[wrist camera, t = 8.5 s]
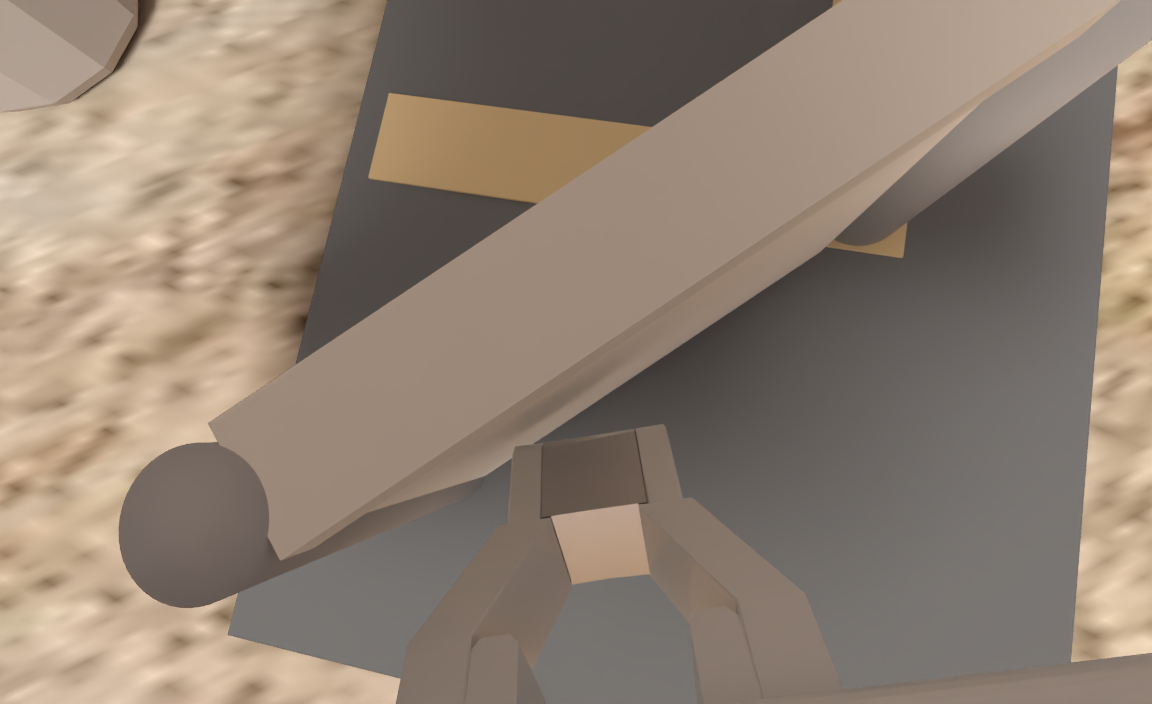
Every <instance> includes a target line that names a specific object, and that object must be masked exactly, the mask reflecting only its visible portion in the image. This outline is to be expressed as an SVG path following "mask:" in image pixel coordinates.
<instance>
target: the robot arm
mask: <svg viewBox="0 0 1152 704" xmlns="http://www.w3.org/2000/svg"><path fill="white" fill-rule="evenodd" d="M645 574H650V576H651V578H652V579H653V580H654V581H655V583H656V584H657V585H658V586H659V587H660V589H661V590H662V591H663V592H664V594H665V595H666V596H667V597H668V598H669V600H670V601H671V602H672V603H673V604H674V606H675V607H676V608H677V609H678V611H679V612H680V613H681V614H682V615H683V617H684V618H685V619H686V620H687V622H688V623H689V630H690V639H691V649H692V659H693V668H694V678H695V688H696V697H697V703H698V704H1152V653H1148V654H1140V655H1131V656H1123V657H1114V658H1106V659H1097V660H1089V661H1081V662H1072V663H1064V664H1055V665H1047V666H1038V667H1030V668H1022V669H1013V670H1005V671H996V672H988V673H979V674H971V675H962V676H954V677H945V678H937V679H928V680H920V681H911V682H903V683H894V684H886V685H877V686H869V687H860V688H852V689H843V688H842V685H841V683H840V680H839V678H838V675H837V672H836V670H835V667H834V665H833V662H832V660H831V657H830V655H829V652H828V650H827V647H826V645H825V642H824V639H823V637H822V634H821V632H820V629H819V627H818V624H817V622H816V619H815V617H814V614H813V611H812V609H811V606H810V604H809V601H808V599H807V596H806V594H805V593H804V592H803V591H802V590H800V589H799V588H798V587H797V586H796V585H795V584H793V583H792V582H791V581H790V580H789V579H788V578H786V577H785V576H784V575H783V574H782V573H780V572H779V571H778V570H777V569H776V568H775V567H773V566H772V565H771V564H770V563H769V562H768V561H766V560H765V559H764V558H763V557H762V556H761V555H759V554H758V553H757V552H756V551H755V550H753V549H752V548H751V547H750V546H749V545H748V544H746V543H745V542H744V541H743V540H742V539H741V538H739V537H738V536H737V535H736V534H735V533H733V532H732V531H731V530H730V529H729V528H728V527H726V526H725V525H724V524H723V523H722V522H721V521H719V520H718V519H717V518H716V517H715V516H713V515H712V514H711V513H710V512H709V511H708V510H706V509H705V508H704V507H703V506H702V505H701V504H699V503H698V502H697V501H696V500H695V499H694V498H692V497H690V498H683V496H682V492H681V488H680V484H679V479H678V475H677V471H676V467H675V463H674V459H673V455H672V451H671V446H670V442H669V438H668V434H667V430H666V427H665V426H664V425H663V424H659V425H653V426H647V427H641V428H635V430H634V429H630V430H624V431H618V432H611V433H605V434H599V435H593V436H587V437H581V438H573V439H565V440H557V441H550V442H544V443H539V444H531V445H523V446H515V448H514V451H513V453H512V465H511V479H510V492H509V506H508V520H507V524H502V525H498V527H497V528H496V529H495V531H494V532H493V533H492V535H491V536H490V537H489V539H488V540H487V541H486V542H485V544H484V545H483V546H482V548H481V549H480V550H479V552H478V553H477V554H476V556H475V557H474V558H473V560H472V561H471V562H470V564H469V565H468V566H467V567H466V569H465V570H464V571H463V573H462V574H461V575H460V577H459V578H458V579H457V581H456V582H455V583H454V585H453V586H452V587H451V589H450V590H449V591H448V592H447V594H446V595H445V596H444V598H443V599H442V600H441V602H440V603H439V604H438V606H437V607H436V608H435V610H434V611H433V612H432V614H431V615H430V616H429V617H428V619H427V620H426V621H425V623H424V624H423V625H422V627H421V628H420V629H419V631H418V632H417V633H416V635H415V636H414V637H413V638H412V640H411V641H410V642H409V644H408V647H407V651H406V656H405V661H404V666H403V671H402V676H401V681H400V686H399V691H398V696H397V700H396V704H547V703H546V700H545V698H544V696H543V694H542V692H541V690H540V688H539V685H538V683H537V681H536V679H535V677H534V675H533V672H532V668H533V666H534V664H535V662H536V660H537V658H538V656H539V654H540V652H541V650H542V648H543V646H544V644H545V642H546V640H547V638H548V636H549V634H550V632H551V630H552V628H553V626H554V624H555V622H556V620H557V618H558V616H559V614H560V612H561V610H562V608H563V606H564V604H565V602H566V600H567V598H568V596H569V594H570V592H571V590H572V584H578V583H585V582H591V581H597V580H603V579H609V578H618V577H627V576H636V575H645Z"/></svg>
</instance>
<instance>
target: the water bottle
mask: <svg viewBox="0 0 1152 704" xmlns="http://www.w3.org/2000/svg"><path fill="white" fill-rule="evenodd" d="M137 27H138V0H0V112H14V111H24V110H30V109H37V108H43V107H49V106H55V105H61V104H67V103H70V102H71V101H73V100H74V99H75V98H77V97H78V96H80V95H81V94H82V93H84V92H85V91H87V90H88V89H89V88H91V87H92V86H94V85H95V84H96V83H98V82H99V81H101V80H102V79H103V78H105V77H106V76H107V75H109V74H110V73H112V72H113V70H114V68H115V66H116V64H117V63H118V61H119V59H120V57H121V55H122V54H123V52H124V50H125V48H126V47H127V45H128V43H129V41H130V39H131V38H132V36H133V34H134V32H135V31H136V29H137Z"/></svg>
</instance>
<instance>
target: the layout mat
mask: <svg viewBox="0 0 1152 704" xmlns="http://www.w3.org/2000/svg"><path fill="white" fill-rule="evenodd" d="M841 1H842V0H387V4H386V8H385V12H384V16H383V20H382V24H381V28H380V32H379V36H378V40H377V44H376V48H375V52H374V56H373V60H372V64H371V68H370V72H369V76H368V80H367V84H366V88H365V92H364V96H363V100H362V104H361V107H360V111H359V115H358V119H357V123H356V127H355V131H354V135H353V139H352V143H351V147H350V151H349V155H348V159H347V163H346V167H345V171H344V175H343V179H342V183H341V187H340V191H339V195H338V199H337V203H336V207H335V211H334V215H333V219H332V223H331V226H330V230H329V234H328V238H327V242H326V246H325V250H324V254H323V258H322V262H321V266H320V270H319V274H318V278H317V282H316V286H315V290H314V294H313V298H312V302H311V306H310V310H309V314H308V318H307V322H306V326H305V330H304V334H303V338H302V341H301V345H300V349H299V353H298V357H297V361H296V364H297V363H299V362H300V361H302V360H304V359H305V358H307V357H308V356H310V355H311V354H313V353H314V352H316V351H317V350H319V349H320V348H322V347H323V346H325V345H326V344H328V343H329V342H331V341H332V340H334V339H335V338H337V337H338V336H340V335H341V334H343V333H344V332H346V331H347V330H349V329H350V328H352V327H353V326H355V325H356V324H358V323H359V322H361V321H362V320H364V319H365V318H367V317H368V316H370V315H371V314H373V313H374V312H376V311H377V310H379V309H380V308H382V307H383V306H385V305H386V304H388V303H389V302H391V301H392V300H394V299H395V298H397V297H398V296H400V295H401V294H403V293H404V292H406V291H407V290H409V289H410V288H412V287H413V286H415V285H416V284H418V283H419V282H421V281H422V280H424V279H425V278H427V277H428V276H430V275H431V274H433V273H434V272H436V271H437V270H439V269H440V268H442V267H443V266H445V265H446V264H448V263H449V262H451V261H452V260H454V259H455V258H457V257H458V256H460V255H461V254H463V253H464V252H466V251H467V250H469V249H470V248H472V247H473V246H475V245H476V244H478V243H479V242H481V241H482V240H484V239H485V238H487V237H488V236H490V235H491V234H493V233H494V232H496V231H497V230H499V229H500V228H502V227H503V226H505V225H506V224H508V223H509V222H511V221H512V220H514V219H515V218H517V217H518V216H520V215H521V214H523V213H524V212H526V211H527V210H529V209H530V208H532V207H533V206H535V205H536V204H538V203H539V202H541V201H542V200H544V199H545V198H547V197H548V196H550V195H551V194H553V193H554V192H556V191H557V190H559V189H560V188H562V187H563V186H565V185H566V184H568V183H569V182H571V181H572V180H574V179H575V178H577V177H578V176H580V175H581V174H583V173H584V172H586V171H587V170H589V169H590V168H592V167H593V166H595V165H596V164H598V163H599V162H601V161H602V160H604V159H605V158H607V157H608V156H610V155H611V154H613V153H614V152H616V151H617V150H619V149H620V148H622V147H623V146H625V145H626V144H628V143H629V142H631V141H632V140H634V139H635V138H637V137H638V136H640V135H641V134H643V133H644V132H646V131H647V130H649V129H650V128H652V127H653V126H655V125H656V124H658V123H659V122H661V121H662V120H664V119H665V118H667V117H668V116H670V115H671V114H673V113H674V112H676V111H677V110H679V109H680V108H682V107H683V106H685V105H686V104H688V103H689V102H691V101H692V100H694V99H695V98H697V97H698V96H700V95H701V94H703V93H704V92H706V91H707V90H709V89H710V88H712V87H713V86H715V85H716V84H718V83H719V82H721V81H722V80H724V79H725V78H727V77H728V76H730V75H731V74H733V73H734V72H736V71H737V70H739V69H740V68H742V67H743V66H745V65H746V64H748V63H749V62H751V61H752V60H754V59H755V58H757V57H758V56H760V55H761V54H763V53H764V52H766V51H767V50H769V49H770V48H772V47H773V46H775V45H776V44H778V43H779V42H781V41H782V40H784V39H785V38H787V37H788V36H790V35H791V34H793V33H794V32H796V31H797V30H799V29H800V28H802V27H803V26H805V25H806V24H808V23H809V22H811V21H812V20H814V19H815V18H817V17H818V16H820V15H821V14H823V13H824V12H826V11H827V10H829V9H830V8H832V7H833V6H835V5H836V4H838V3H839V2H841ZM1117 67H1118V65H1117V66H1116V67H1115V68H1113V69H1112V70H1111V71H1109V72H1108V73H1107V74H1105V75H1104V76H1103V77H1101V78H1100V79H1099V80H1097V81H1096V82H1095V83H1093V84H1092V85H1091V86H1089V87H1088V88H1086V89H1085V90H1084V91H1082V92H1081V93H1080V94H1078V95H1077V96H1076V97H1074V98H1073V99H1072V100H1070V101H1069V102H1068V103H1066V104H1065V105H1064V106H1062V107H1061V108H1060V109H1058V110H1057V111H1056V112H1054V113H1053V114H1052V115H1050V116H1049V117H1048V118H1046V119H1045V120H1044V121H1042V122H1041V123H1040V124H1038V125H1037V126H1036V127H1034V128H1033V129H1032V130H1030V131H1029V132H1028V133H1026V134H1025V135H1024V136H1022V137H1021V138H1019V139H1018V140H1017V141H1015V142H1014V143H1013V144H1011V145H1010V146H1009V147H1007V148H1006V149H1005V150H1003V151H1002V152H1001V153H999V154H998V155H997V156H995V157H994V158H993V159H991V160H990V161H989V162H987V163H986V164H985V165H983V166H982V167H981V168H979V169H978V170H977V171H975V172H974V173H973V174H971V175H970V176H969V177H967V178H966V179H965V180H963V181H962V182H961V183H959V184H958V185H957V186H955V187H954V188H952V189H951V190H950V191H948V192H947V193H946V194H944V195H943V196H942V197H940V198H939V199H938V200H936V201H935V202H934V203H932V204H931V205H930V206H928V207H927V208H926V209H924V210H923V211H922V212H920V213H919V214H918V215H916V216H915V217H914V218H912V219H911V220H910V221H908V222H907V223H906V224H904V225H903V226H902V227H900V228H899V229H898V230H896V231H895V232H894V233H892V234H891V235H889V236H888V237H887V238H885V239H883V240H882V241H880V242H877V243H874V244H871V245H865V246H851V245H846V244H843V243H840V242H837V241H835V240H833V241H832V242H830V243H829V244H828V245H827V246H826V247H825V248H824V249H823V250H822V251H821V252H820V253H818V254H817V255H815V256H814V257H812V258H811V259H809V260H808V261H806V262H805V263H803V264H802V265H800V266H799V267H797V268H796V269H794V270H793V271H791V272H790V273H788V274H787V275H785V276H784V277H782V278H781V279H779V280H778V281H776V282H775V283H773V284H772V285H770V286H769V287H767V288H766V289H764V290H763V291H761V292H760V293H758V294H757V295H755V296H754V297H752V298H751V299H749V300H748V301H746V302H745V303H743V304H742V305H740V306H739V307H737V308H736V309H734V310H733V311H731V312H730V313H728V314H727V315H725V316H724V317H722V318H721V319H719V320H718V321H716V322H715V323H713V324H712V325H710V326H709V327H707V328H706V329H704V330H703V331H701V332H700V333H698V334H697V335H695V336H694V337H692V338H691V339H689V340H688V341H686V342H685V343H683V344H682V345H680V346H679V347H677V348H676V349H674V350H673V351H671V352H670V353H668V354H667V355H665V356H664V357H662V358H661V359H659V360H658V361H656V362H655V363H653V364H652V365H650V366H649V367H647V368H646V369H644V370H643V371H641V372H640V373H639V374H637V375H636V376H634V377H633V378H631V379H630V380H628V381H627V382H625V383H624V384H622V385H621V386H619V387H618V388H616V389H615V390H613V391H612V392H610V393H609V394H607V395H606V396H604V397H603V398H601V399H600V400H598V401H597V402H595V403H594V404H592V405H591V406H589V407H588V408H586V409H585V410H583V411H582V412H580V413H579V414H577V415H576V416H574V417H573V418H571V419H570V420H568V421H567V422H565V423H564V424H562V425H561V426H559V427H558V428H556V429H555V430H553V431H552V432H550V433H549V434H547V435H546V436H544V437H543V438H541V439H540V440H538V441H537V442H535V443H534V444H539V443H544V442H550V441H557V440H565V439H573V438H581V437H587V436H593V435H599V434H605V433H611V432H618V431H624V430H630V429H634V430H635V428H641V427H647V426H653V425H659V424H663V425H664V426H665V427H666V430H667V434H668V438H669V442H670V446H671V451H672V455H673V459H674V463H675V467H676V471H677V475H678V479H679V484H680V488H681V492H682V496H683V498H690V497H692V498H694V499H695V500H696V501H697V502H698V503H699V504H701V505H702V506H703V507H704V508H705V509H706V510H708V511H709V512H710V513H711V514H712V515H713V516H715V517H716V518H717V519H718V520H719V521H721V522H722V523H723V524H724V525H725V526H726V527H728V528H729V529H730V530H731V531H732V532H733V533H735V534H736V535H737V536H738V537H739V538H741V539H742V540H743V541H744V542H745V543H746V544H748V545H749V546H750V547H751V548H752V549H753V550H755V551H756V552H757V553H758V554H759V555H761V556H762V557H763V558H764V559H765V560H766V561H768V562H769V563H770V564H771V565H772V566H773V567H775V568H776V569H777V570H778V571H779V572H780V573H782V574H783V575H784V576H785V577H786V578H788V579H789V580H790V581H791V582H792V583H793V584H795V585H796V586H797V587H798V588H799V589H800V590H802V591H803V592H804V593H805V594H806V596H807V599H808V601H809V604H810V606H811V609H812V611H813V614H814V617H815V619H816V622H817V624H818V627H819V629H820V632H821V634H822V637H823V639H824V642H825V645H826V647H827V650H828V652H829V655H830V657H831V660H832V662H833V665H834V667H835V670H836V672H837V675H838V678H839V680H840V683H841V685H842V688H843V689H852V688H860V687H869V686H877V685H886V684H894V683H903V682H911V681H920V680H928V679H937V678H945V677H954V676H962V675H971V674H979V673H988V672H996V671H1005V670H1013V669H1022V668H1030V667H1038V666H1047V665H1055V664H1064V663H1071V653H1072V640H1073V627H1074V615H1075V602H1076V589H1077V576H1078V564H1079V551H1080V538H1081V525H1082V513H1083V500H1084V487H1085V475H1086V462H1087V449H1088V436H1089V424H1090V411H1091V398H1092V385H1093V373H1094V360H1095V347H1096V334H1097V322H1098V309H1099V296H1100V284H1101V271H1102V258H1103V245H1104V233H1105V220H1106V207H1107V194H1108V182H1109V169H1110V156H1111V143H1112V131H1113V118H1114V105H1115V93H1116V80H1117ZM511 465H512V458H511V459H510V460H508V461H507V462H505V463H504V464H502V465H501V466H499V467H498V468H496V469H495V470H493V471H492V472H490V473H489V474H487V475H486V476H485V479H484V481H483V483H482V485H481V487H480V488H479V489H478V490H477V491H476V492H475V493H474V494H473V495H471V496H470V497H468V498H465V499H463V500H461V501H458V502H456V503H453V504H451V505H448V506H446V507H444V508H441V509H439V510H436V511H434V512H432V513H429V514H427V515H424V516H422V517H419V518H417V519H415V520H412V521H410V522H407V523H405V524H403V525H400V526H398V527H395V528H393V529H391V530H388V531H386V532H383V533H381V534H378V535H376V536H374V537H371V538H369V539H366V540H364V541H362V542H359V543H357V544H354V545H352V546H349V547H347V548H345V549H342V550H340V551H337V552H335V553H333V554H330V555H328V556H325V557H323V558H321V559H318V560H316V561H313V562H311V563H308V564H306V565H304V566H301V567H299V568H296V569H294V570H292V571H289V572H287V573H284V574H282V575H280V576H277V577H275V578H272V579H270V580H267V581H265V582H263V583H260V584H258V585H255V586H253V587H251V588H248V589H246V590H243V591H241V592H238V595H237V599H236V603H235V607H234V611H233V615H232V619H231V623H230V627H229V631H228V635H230V636H234V637H238V638H242V639H246V640H250V641H254V642H258V643H262V644H266V645H270V646H274V647H277V648H281V649H285V650H289V651H293V652H297V653H301V654H305V655H309V656H313V657H317V658H321V659H325V660H329V661H333V662H337V663H341V664H345V665H349V666H353V667H357V668H361V669H365V670H369V671H373V672H377V673H380V674H384V675H388V676H392V677H396V678H400V679H401V676H402V671H403V666H404V661H405V656H406V651H407V647H408V644H409V642H410V641H411V640H412V638H413V637H414V636H415V635H416V633H417V632H418V631H419V629H420V628H421V627H422V625H423V624H424V623H425V621H426V620H427V619H428V617H429V616H430V615H431V614H432V612H433V611H434V610H435V608H436V607H437V606H438V604H439V603H440V602H441V600H442V599H443V598H444V596H445V595H446V594H447V592H448V591H449V590H450V589H451V587H452V586H453V585H454V583H455V582H456V581H457V579H458V578H459V577H460V575H461V574H462V573H463V571H464V570H465V569H466V567H467V566H468V565H469V564H470V562H471V561H472V560H473V558H474V557H475V556H476V554H477V553H478V552H479V550H480V549H481V548H482V546H483V545H484V544H485V542H486V541H487V540H488V539H489V537H490V536H491V535H492V533H493V532H494V531H495V529H496V528H497V527H498V525H502V524H507V520H508V506H509V492H510V479H511ZM532 672H533V675H534V677H535V679H536V681H537V683H538V685H539V688H540V690H541V692H542V694H543V696H544V698H545V700H546V703H547V704H698V703H697V697H696V688H695V678H694V668H693V659H692V649H691V639H690V630H689V623H688V622H687V620H686V619H685V618H684V617H683V615H682V614H681V613H680V612H679V611H678V609H677V608H676V607H675V606H674V604H673V603H672V602H671V601H670V600H669V598H668V597H667V596H666V595H665V594H664V592H663V591H662V590H661V589H660V587H659V586H658V585H657V584H656V583H655V581H654V580H653V579H652V578H651V576H650V574H645V575H636V576H627V577H618V578H609V579H603V580H597V581H591V582H585V583H578V584H572V590H571V592H570V594H569V596H568V598H567V600H566V602H565V604H564V606H563V608H562V610H561V612H560V614H559V616H558V618H557V620H556V622H555V624H554V626H553V628H552V630H551V632H550V634H549V636H548V638H547V640H546V642H545V644H544V646H543V648H542V650H541V652H540V654H539V656H538V658H537V660H536V662H535V664H534V666H533V668H532Z"/></svg>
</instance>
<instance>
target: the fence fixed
mask: <svg viewBox="0 0 1152 704" xmlns="http://www.w3.org/2000/svg"><path fill="white" fill-rule="evenodd" d="M1151 40H1152V0H1121V1H1120V2H1118V3H1117V4H1116V5H1115V6H1114V7H1113V8H1112V9H1110V10H1109V11H1108V12H1107V13H1106V14H1105V15H1104V16H1102V17H1101V18H1100V19H1099V20H1098V21H1097V22H1096V23H1094V24H1093V25H1092V26H1091V27H1090V28H1089V29H1088V30H1086V31H1085V32H1084V33H1083V34H1082V35H1081V36H1080V37H1078V38H1077V39H1075V40H1074V41H1072V42H1071V43H1069V44H1068V45H1066V46H1065V47H1063V48H1062V49H1060V50H1059V51H1057V52H1056V53H1054V54H1053V55H1051V56H1050V57H1048V58H1047V59H1045V60H1044V61H1042V62H1041V63H1039V64H1038V65H1036V66H1035V67H1033V68H1032V69H1030V70H1029V71H1027V72H1026V73H1024V74H1023V75H1021V76H1020V77H1018V78H1017V79H1015V80H1014V81H1012V82H1011V83H1009V84H1008V85H1006V86H1005V87H1003V88H1002V89H1000V90H999V91H997V92H996V93H994V94H993V95H991V96H990V97H988V98H987V99H985V100H984V101H982V102H981V103H980V104H979V105H978V106H977V107H976V108H975V109H974V110H973V111H972V112H971V113H969V114H968V115H967V116H966V117H965V118H964V119H963V120H962V121H961V122H960V123H959V124H958V125H957V126H955V127H954V128H953V129H952V130H951V131H950V132H949V133H948V134H947V135H946V136H945V137H944V138H943V139H941V140H940V141H939V142H938V143H937V144H936V145H935V146H934V147H933V148H932V149H931V150H930V151H929V152H927V153H926V154H925V155H924V156H923V157H922V158H921V159H920V160H919V161H918V162H917V163H916V164H915V165H913V166H912V167H911V168H910V169H909V170H908V171H907V172H906V173H905V174H904V175H903V176H902V177H901V178H899V179H898V180H897V181H896V182H895V183H894V184H893V185H892V186H891V187H890V188H889V189H888V190H886V191H885V192H884V193H883V194H882V195H881V196H880V197H879V198H878V199H877V200H876V201H875V202H874V203H872V204H871V205H870V206H869V207H868V208H867V209H866V210H865V211H864V212H863V213H862V214H861V215H860V216H858V217H857V218H856V219H855V220H854V221H853V222H852V223H851V224H850V225H849V226H848V227H847V228H846V229H844V230H843V231H842V232H841V233H840V234H839V235H838V236H837V237H836V238H835V239H834V240H835V241H837V242H840V243H843V244H846V245H851V246H865V245H871V244H874V243H877V242H880V241H882V240H883V239H885V238H887V237H888V236H889V235H891V234H892V233H894V232H895V231H896V230H898V229H899V228H900V227H902V226H903V225H904V224H906V223H907V222H908V221H910V220H911V219H912V218H914V217H915V216H916V215H918V214H919V213H920V212H922V211H923V210H924V209H926V208H927V207H928V206H930V205H931V204H932V203H934V202H935V201H936V200H938V199H939V198H940V197H942V196H943V195H944V194H946V193H947V192H948V191H950V190H951V189H952V188H954V187H955V186H957V185H958V184H959V183H961V182H962V181H963V180H965V179H966V178H967V177H969V176H970V175H971V174H973V173H974V172H975V171H977V170H978V169H979V168H981V167H982V166H983V165H985V164H986V163H987V162H989V161H990V160H991V159H993V158H994V157H995V156H997V155H998V154H999V153H1001V152H1002V151H1003V150H1005V149H1006V148H1007V147H1009V146H1010V145H1011V144H1013V143H1014V142H1015V141H1017V140H1018V139H1019V138H1021V137H1022V136H1024V135H1025V134H1026V133H1028V132H1029V131H1030V130H1032V129H1033V128H1034V127H1036V126H1037V125H1038V124H1040V123H1041V122H1042V121H1044V120H1045V119H1046V118H1048V117H1049V116H1050V115H1052V114H1053V113H1054V112H1056V111H1057V110H1058V109H1060V108H1061V107H1062V106H1064V105H1065V104H1066V103H1068V102H1069V101H1070V100H1072V99H1073V98H1074V97H1076V96H1077V95H1078V94H1080V93H1081V92H1082V91H1084V90H1085V89H1086V88H1088V87H1089V86H1091V85H1092V84H1093V83H1095V82H1096V81H1097V80H1099V79H1100V78H1101V77H1103V76H1104V75H1105V74H1107V73H1108V72H1109V71H1111V70H1112V69H1113V68H1115V67H1116V66H1117V65H1119V64H1120V63H1121V62H1123V61H1124V60H1125V59H1127V58H1128V57H1129V56H1131V55H1132V54H1133V53H1135V52H1136V51H1137V50H1139V49H1140V48H1141V47H1143V46H1144V45H1145V44H1147V43H1148V42H1149V41H1151Z"/></svg>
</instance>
